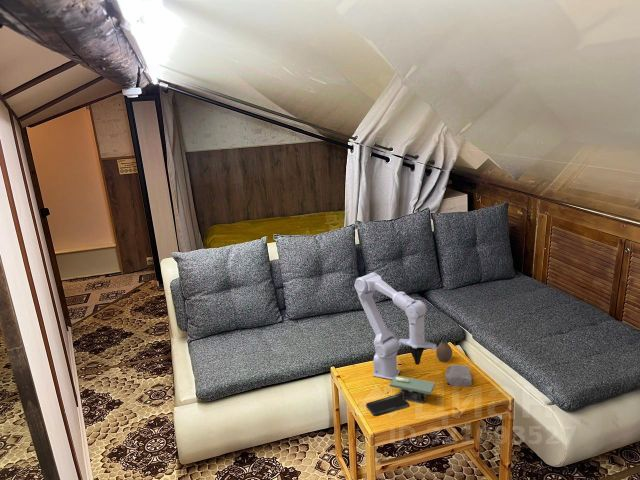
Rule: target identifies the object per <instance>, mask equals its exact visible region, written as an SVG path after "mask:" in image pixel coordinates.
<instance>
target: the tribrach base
mask: <svg viewBox="0 0 640 480" xmlns="http://www.w3.org/2000/svg"><path fill="white" fill-rule="evenodd" d="M398 394H399V395H398V396H397V397H401V398H404V399H405V400H406V401H407V402H409V401H410V402H413V403H419V404H424V402H425V400H426V398H427V396H428V394H426V393H421V392H415V391H412V392H409V391H408V390H405V389H401V390H400V391H399V392H398Z"/></svg>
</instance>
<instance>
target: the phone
mask: <svg viewBox="0 0 640 480" xmlns="http://www.w3.org/2000/svg"><path fill="white" fill-rule="evenodd" d="M398 395H399V393H398V394H394V395H391V396H387V397H384V398H380V399H376V400H373V401H370V402H366V404H365V407H366V408H367V410H368V411H369V412H370V414H371V415H372V416H373V417H378V416H381V415H385V414H389V413H391V412H395V411H398V410H401V409H405V408H408V407H409V406H410V404H409V401H408V400H405V399H404V398H401V397H397V396H398Z"/></svg>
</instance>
